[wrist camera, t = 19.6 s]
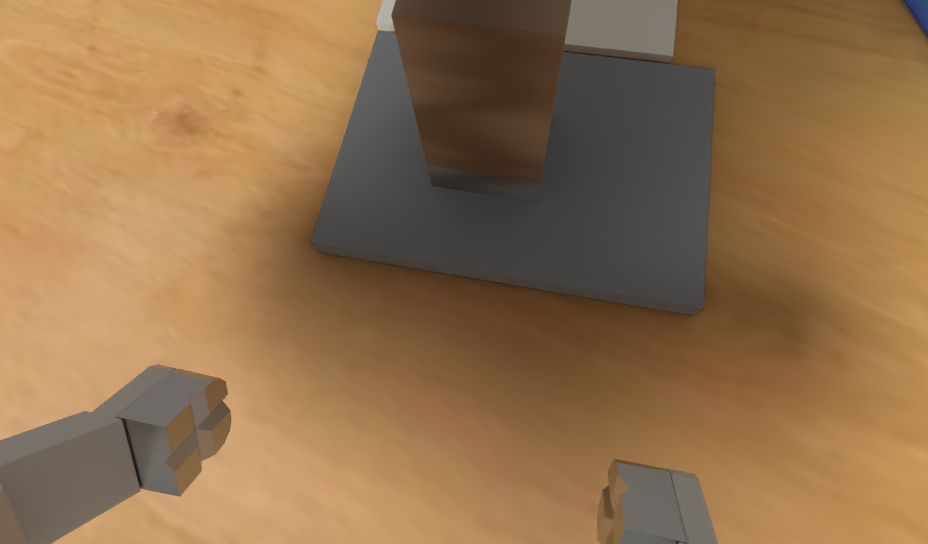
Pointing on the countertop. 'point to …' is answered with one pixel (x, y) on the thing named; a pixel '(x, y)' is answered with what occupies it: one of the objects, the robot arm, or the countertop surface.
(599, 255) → the mat
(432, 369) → the countertop surface
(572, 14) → the rectangular frame
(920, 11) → the medicine box
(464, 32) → the walnut block
